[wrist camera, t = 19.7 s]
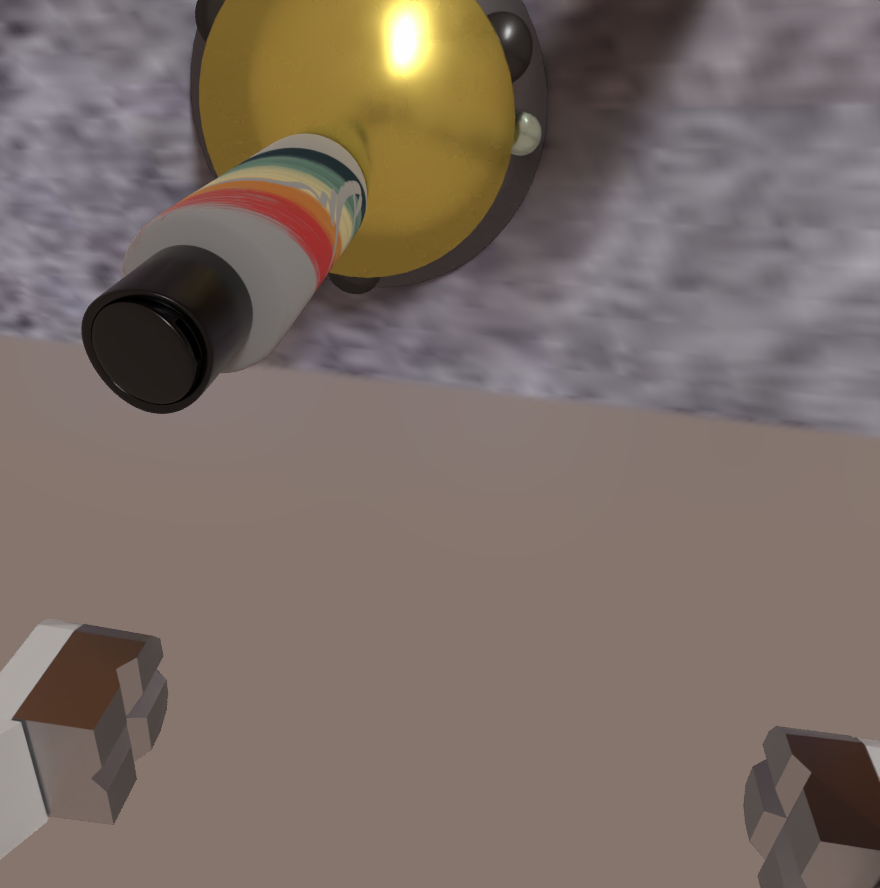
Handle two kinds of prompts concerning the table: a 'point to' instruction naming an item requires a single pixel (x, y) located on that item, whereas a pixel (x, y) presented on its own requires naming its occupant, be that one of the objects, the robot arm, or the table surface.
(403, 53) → the levelling base
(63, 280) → the table surface
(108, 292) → the lotion bottle
